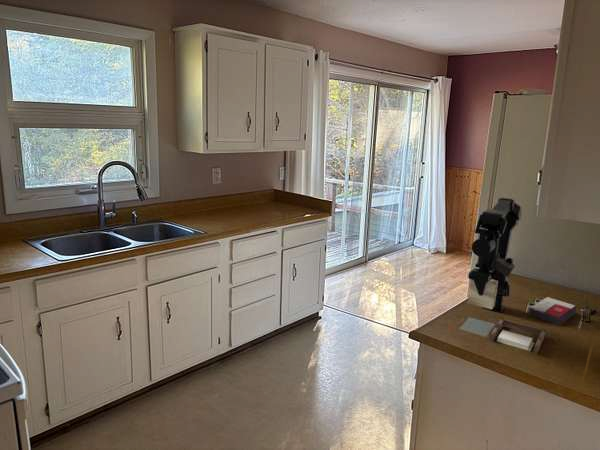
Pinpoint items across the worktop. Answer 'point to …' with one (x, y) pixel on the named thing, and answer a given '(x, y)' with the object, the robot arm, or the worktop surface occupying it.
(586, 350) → the worktop surface
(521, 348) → the offcut lower
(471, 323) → the mat
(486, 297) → the cream rectangular block
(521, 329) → the rack
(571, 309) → the red white carton
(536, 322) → the worktop surface
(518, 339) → the offcut upper
